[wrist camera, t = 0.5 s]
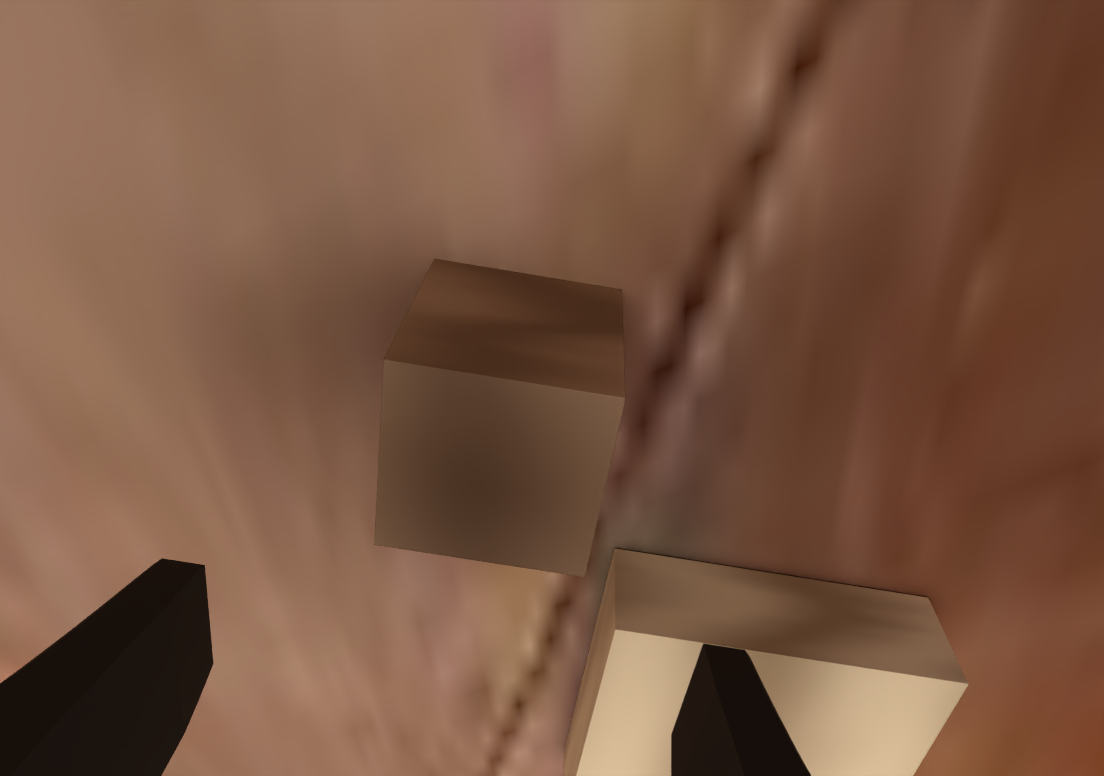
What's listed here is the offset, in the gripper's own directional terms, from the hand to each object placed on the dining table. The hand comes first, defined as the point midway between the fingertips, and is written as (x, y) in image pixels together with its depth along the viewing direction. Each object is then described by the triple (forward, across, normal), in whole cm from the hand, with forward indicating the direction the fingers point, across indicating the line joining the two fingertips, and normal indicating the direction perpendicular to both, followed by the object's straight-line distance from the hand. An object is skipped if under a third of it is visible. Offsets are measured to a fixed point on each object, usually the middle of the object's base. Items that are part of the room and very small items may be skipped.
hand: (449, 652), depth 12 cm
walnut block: (+10, 0, 0) cm, 10 cm away
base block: (+9, -8, +10) cm, 16 cm away
